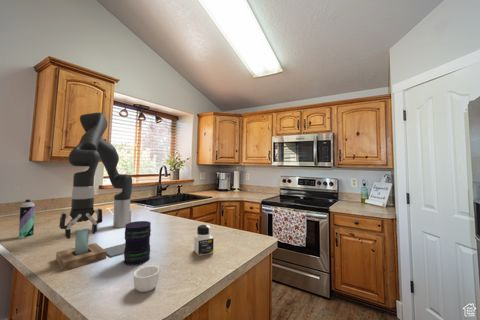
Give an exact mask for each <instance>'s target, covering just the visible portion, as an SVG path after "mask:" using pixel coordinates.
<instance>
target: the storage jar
mask: <svg viewBox="0 0 480 320" xmlns="http://www.w3.org/2000/svg"><path fill="white" fill-rule="evenodd" d="M151 224H152V223H151V221H146V220H137V221H133V222H132V221H131V223H128V224H126V225H125V227H124V228H125V229H124V240H125V242H124V243H125V249H124V254H123V258H124V261H123V263H124V265H126V266H139V265H143V264H145V263H147V262H148V261H149V260H150V259H151V256H150V255H151V244H150V242H151V241H150V240H151V239H150V238H151V235H152V234H151V231H152V230H151V229H152V227H151Z"/></svg>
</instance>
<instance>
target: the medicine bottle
mask: <svg viewBox="0 0 480 320" xmlns="http://www.w3.org/2000/svg"><path fill="white" fill-rule="evenodd" d="M211 228H212V227H211V225H209V224H200V225H198V226H197V231H196V232H197V234H195V235H193V236H194V238H193V239H194V240H193V241H194V244H193V245H194V246H193V247H194V248H193V250H194V252H195V253H196V255H197V256H199V257H200V256H205V255H210V254H214V237H213V236H212V235H211V233H212V232H211Z"/></svg>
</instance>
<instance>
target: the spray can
mask: <svg viewBox="0 0 480 320" xmlns="http://www.w3.org/2000/svg"><path fill="white" fill-rule="evenodd" d="M35 204H36V203H34V202H32V201H31V199H25V201H24V202H23V203H21V204H20V206H19V208H20V209H19V223H18V225H19V228H18V229H19V230H18V239H21V240H22V239H30V238H32V237H34V232H35V230H34V229H35V227H34V226H35Z"/></svg>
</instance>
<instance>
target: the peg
mask: <svg viewBox="0 0 480 320" xmlns="http://www.w3.org/2000/svg"><path fill="white" fill-rule="evenodd" d="M89 234H90V229H89V228H80V229H76V230H75V245H74V248H75V256H77V255H81V254H85V253H88V245H89V240H90V239H89V237H90V235H89Z"/></svg>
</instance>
